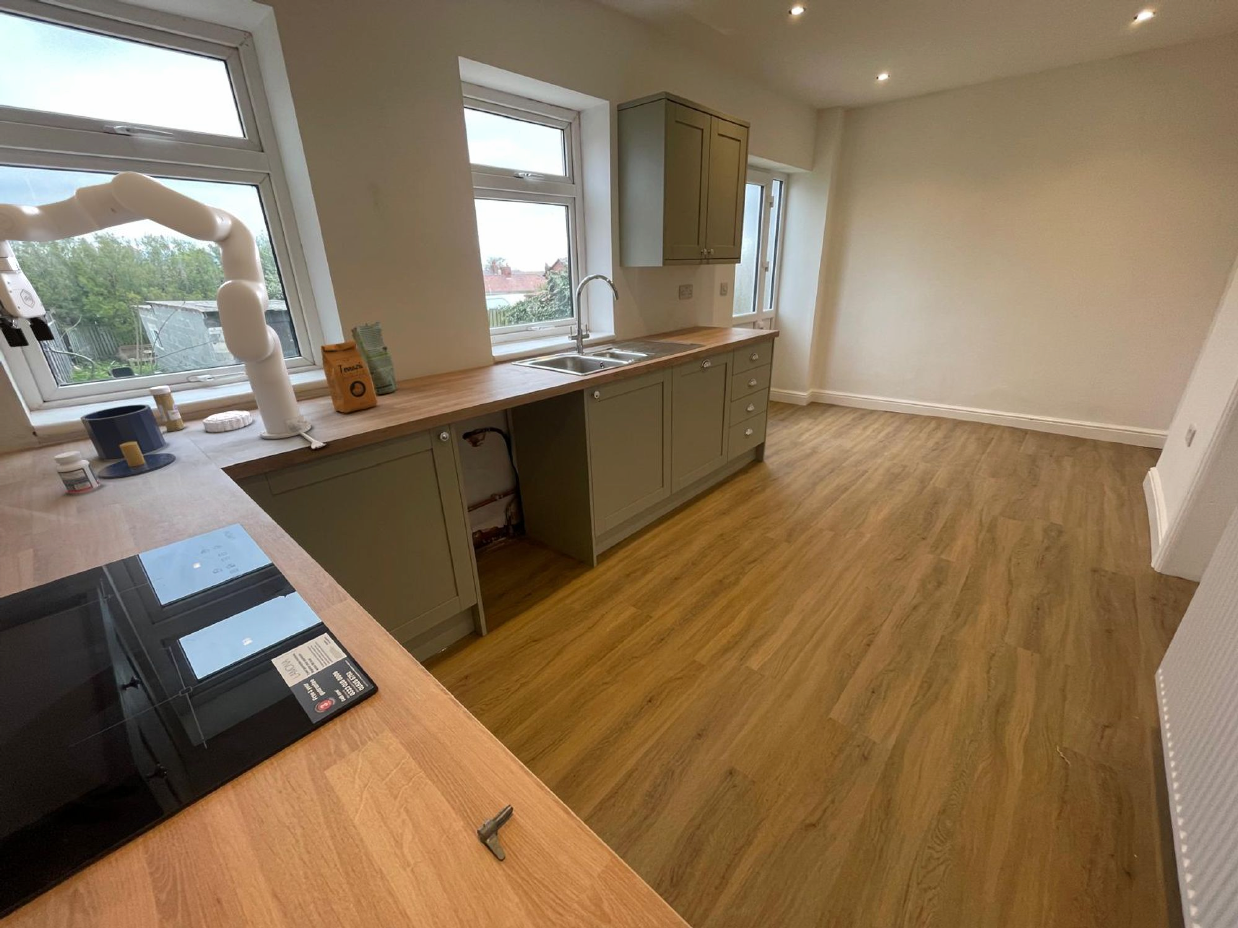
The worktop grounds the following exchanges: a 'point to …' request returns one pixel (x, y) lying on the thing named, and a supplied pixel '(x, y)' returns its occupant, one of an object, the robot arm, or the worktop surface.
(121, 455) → the tin
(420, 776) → the worktop surface
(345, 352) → the coffee package
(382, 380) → the pouch
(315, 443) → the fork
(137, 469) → the tin lid
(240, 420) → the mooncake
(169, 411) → the sprinkles bottle
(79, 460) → the pill bottle
